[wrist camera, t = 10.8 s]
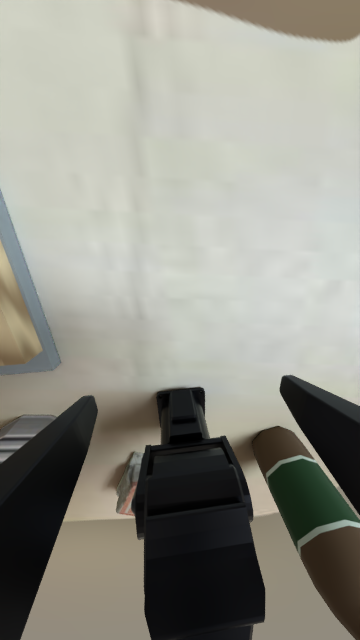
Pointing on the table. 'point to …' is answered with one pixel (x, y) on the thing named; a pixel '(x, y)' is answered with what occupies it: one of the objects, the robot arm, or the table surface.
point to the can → (21, 432)
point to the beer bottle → (315, 521)
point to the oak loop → (14, 320)
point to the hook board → (26, 301)
